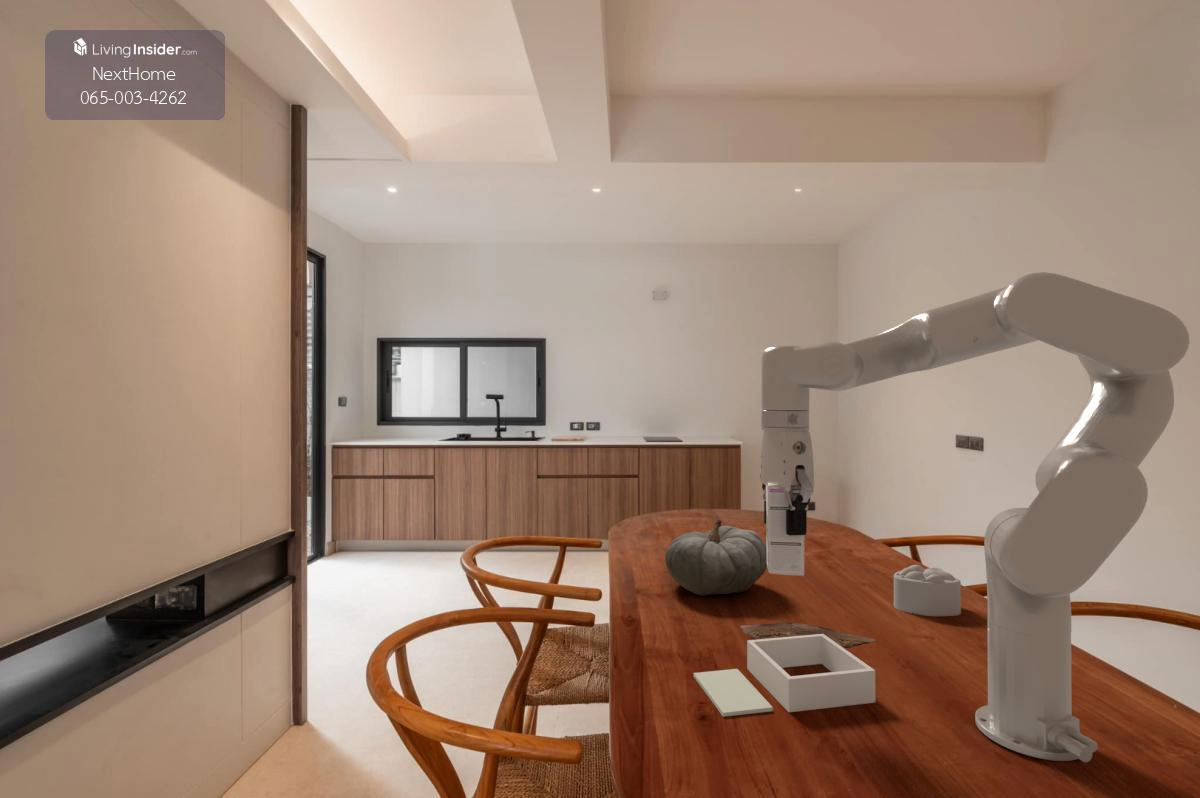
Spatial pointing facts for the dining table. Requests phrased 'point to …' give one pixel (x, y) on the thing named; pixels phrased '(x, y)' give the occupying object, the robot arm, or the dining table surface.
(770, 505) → the syrup box
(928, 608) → the lumpy-topped squat cylinder
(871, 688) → the square frame
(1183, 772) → the dining table surface
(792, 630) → the wooden fragment
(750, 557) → the gourd
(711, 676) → the mat
